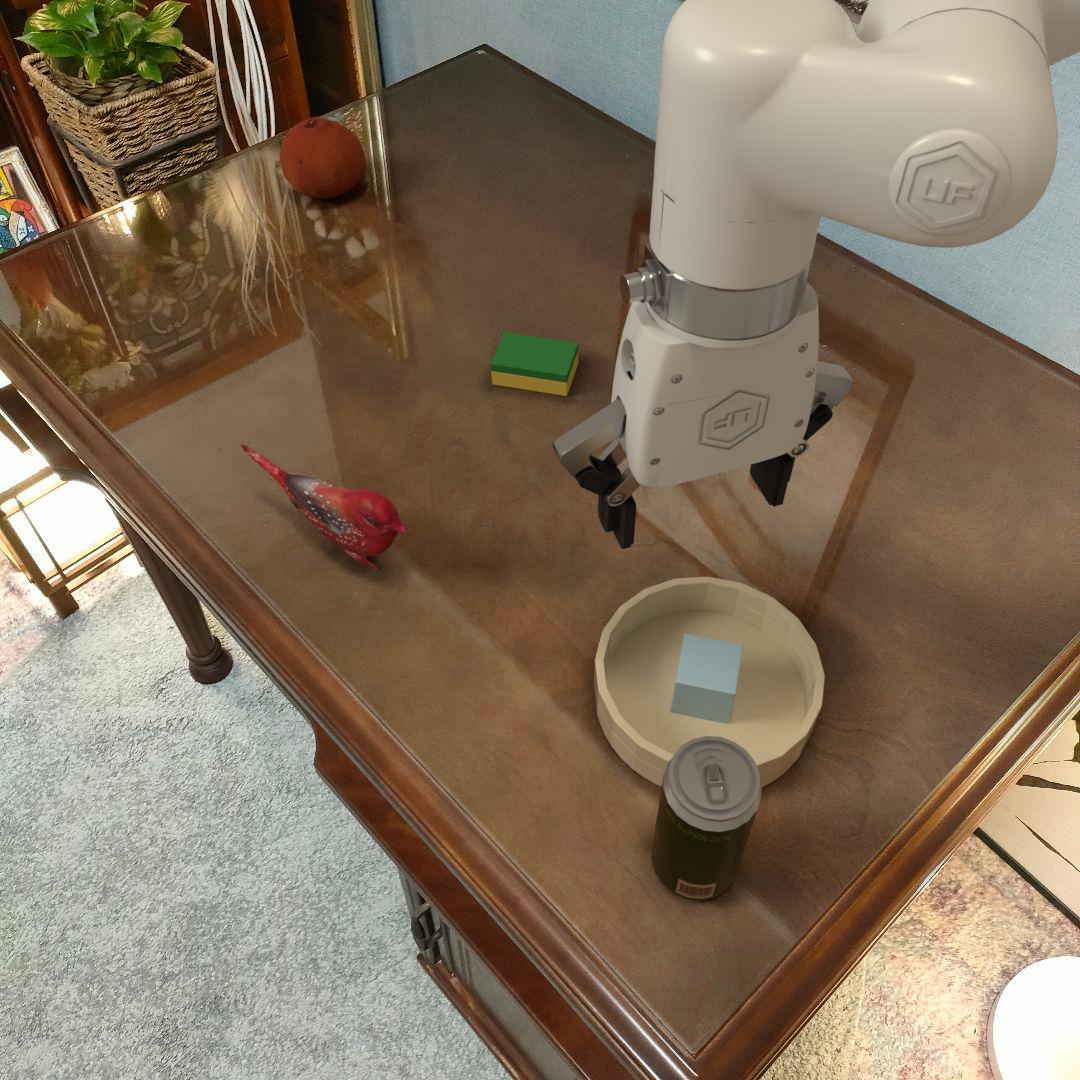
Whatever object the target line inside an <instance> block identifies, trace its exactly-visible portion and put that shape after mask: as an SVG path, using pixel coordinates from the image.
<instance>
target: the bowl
mask: <svg viewBox="0 0 1080 1080" xmlns="http://www.w3.org/2000/svg"><path fill="white" fill-rule="evenodd" d="M685 634H690V635H695V636H701V637H706V638H711V639H716V640H721V641H726V642H731V643H736V644H741V645H743V651H742V657H741V664H740V670H739V676H738V683H737V689H736V695H735V699H734V703H733V707H732V711H731V715H730V719H729V723H728V724H726V723H721V722H716V721H712V720H707V719H702V718H697V717H693V716H688V715H683V714H678V713H674V712H671V706H672V699H673V693H674V686H675V680H676V675H677V670H678V665H679V660H680V656H681V651H682V646H683V641H684V636H685ZM593 673H594V674H593V675H594V676H593V690H594V702H595V711H596V715H597V718H598V721H599V725H600V727H601V730H602V732H603V734H604V736H605V737H606V738H605V739H606V740H607V741H608V743H609V745H610V746H611V748H612V749H613V750H614V752H615V753H616V754H617V755H618V757H619V758H620V759H621V760H622V761H623V762H624V764H626V765H627V766H628V767H629V768H631V770H633V771H634V772H636V773H637V774H639V775H640V776H641V777H643V778H644V779H646V780H647V781H649V782H651V783H653V784H654V785H656V786H659V787H661V788H662V782H663V775H664V772H665V769H666V767H667V764H668V762H669V760H670V759H671V758H672V757H673V756H674V754H675V753H676V752H677V751H678V749H679V748H680V747H681V746H682V745H683V744H685V743H687V742H689V741H690V740H692V739H694V738H699V737H704V736H715V737H723V738H725V739H728V740H731V741H733V742H735V743H737V744H738V745H740V746H741V747H742V748H744V749H745V750H746V751H747V752H748V753H749V754H750V756H751V757H752V758H753V760H754V761H755V763H756V766H757V768H758V771H759V773H760V780H761V789H762V788H763V787H765V786H767V785H770V784H771V783H773V782H774V781H776V780H778V779H779V778H780V777H781V776H783V775H784V774H785V773H787V771H788V770H789V769H790V768H791V767H792V766H793V765H794V764H795V762H797V760H798V759H799V758H800V756H801V754H802V753H803V751H804V749H805V747H806V745H807V743H808V740H809V739H810V737H811V735H812V733H813V730H814V727H815V725H816V723H817V720H818V718H819V716H820V712H821V710H822V707H823V701H824V690H825V680H826V678H825V677H826V675H825V671H824V667H823V663H822V660H821V657H820V652H819V650H818V646H817V643H816V642H815V641H814V639H813V638H812V637H811V635H810V633H809V632H808V630H807V629H806V628H805V626H804V624H803V623H802V622H801V620H800V618H798V616H796V615H795V614H794V613H793V612H792V611H790V610H789V609H787V608H786V607H785V606H784V605H783V604H781V603H780V601H778V600H777V599H776V598H774V597H773V596H772V595H769V594H767V593H765V592H762V591H761V590H758V589H757V588H754V587H752V586H750V585H748V584H745V583H744V582H740V581H734V580H729V579H723V578H719V577H713V576H693V577H692V576H691V577H678V578H672V579H670V580H666V581H664V582H660V583H658V584H654V585H652V586H649V587H646V588H644V589H642V590H641V591H639V592H638V593H636V594H635V595H634V596H633V597H631V598H629V600H627V601H626V602H624V603H623V604H622V605H620V606H618V607H617V610H616V611H615V613H614V614H613V615H612V617H610V619H609V620H608V622H607V624H605V627H604V628H603V629H602V631H601V635H600V639H599V642H598V646H597V650H596V654H595V657H594V672H593Z"/></svg>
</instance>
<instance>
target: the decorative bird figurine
mask: <svg viewBox="0 0 1080 1080" xmlns="http://www.w3.org/2000/svg"><path fill="white" fill-rule="evenodd" d="M240 447H241V448H242V450H243V451H244V452H245V453H246V454H247V455H248V456H249V457H251V459H252V460H254V461H255V463H256V464H258V465H259V467H261V468H262V469H263V470H264V471H265V472H266V473H268V474H269V475H270V476H271V477H272V478H273V479H274V480H275V481H276V482H277V483H278V484H279V486H280V487H281V488H282V489H283V491H284V493H285V494H286V495H287V497H288V499H289V500H290V502H291V503H292V505H293V506H294V508H295V509H296V510H297V511H298V512H299V513H300V514H301V515H302V516H304V518H305V519H306V520H307V521H308V522H309V523H310V524H311V525H312V526H313V527H314V528H315V529H316V530H317V531H318V532H319V533H320V534H321V535H322V536H323V537H325V538H326V539H327V540H328V541H330V542H332V543H333V544H335V545H336V546H338V548H340V549H341V550H343V552H345V553H346V555H349V556H350V557H352V558H353V559H354V560H356V561H357V562H359V563H361V564H365V565H368V566H369V567H371V568H374V569H376V570H377V571H381V569H380V568H379V567H378V566H377V565H375V564H374V563H372V562H371V561H369V560H368V558H367V557H374V556H375V557H376V556H379V555H381V554H384V553H385V552H386V551H387V550H389V548H391V547H392V545H393V544H394V541H395V539H396V538H397V535H398V533H402V534H407V535H408V532H407V530H406V528H405V526H404V524H403V522H402V521H401V518H400V514H399V512H398V509H397V507H395V505H394V503H393V502H392V501H391V500H390V499H389V498H388V497H387V496H385V495H384V494H382V493H381V492H378V491H375V490H372V489H367V488H363V489H362V488H360V489H357V490H352V489H348V488H345V487H342V486H340V485H337V484H335V483H332V482H329V481H326V480H323V479H319V478H316V477H310V476H307V475H301V474H292V473H288V472H286V471H285V470H284V469H282V468H280V466H279V467H278V466H277V465H276V464H275V463H273V462H272V461H271V460H268V458H266V457H264V456H263V455H261V454H260V453H259V452H257V451H255V450H254V449H253V448H251V447H250V446H247V445H245V444H240Z"/></svg>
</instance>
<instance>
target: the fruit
mask: <svg viewBox="0 0 1080 1080" xmlns="http://www.w3.org/2000/svg"><path fill="white" fill-rule="evenodd" d="M279 159H280V166H281V170H282V174H283V176H284V178H285V180H286V181H287V182H288V184H289V185H291V187H292V188H293V189H294V190H295V191H297V192H298V193H300V194H302V195H304V196H307V197H310V198H315V199H322V200H325V199H327V200H328V199H333V198H337V197H339V196H342V195H344V194H346V193H347V192H349V191H350V190H351V189H353V188H354V187H355V186H356V185H358V183H359V182H360V181H361V179H362V178H363V175H364V173H365V171H366V166H367V161H366V155H365V151H364V148H363V146H362V143H361V141H360V140H359V137H358V136H357V135H356V134H355V133H354V131H352V130H351V129H350V128H349V127H348V126H345V125H343V124H342V123H339V122H337V121H336V120H332V119H328V118H325V117H320V116H312V117H310V118H307V119H305V120H302V121H300V122H297V123H296V124H295V125H294V126H293V127H291V129H290V130H288V132H287V133H286V134H285V136H284V138H283V140H282V143H281V147H280V150H279Z"/></svg>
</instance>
